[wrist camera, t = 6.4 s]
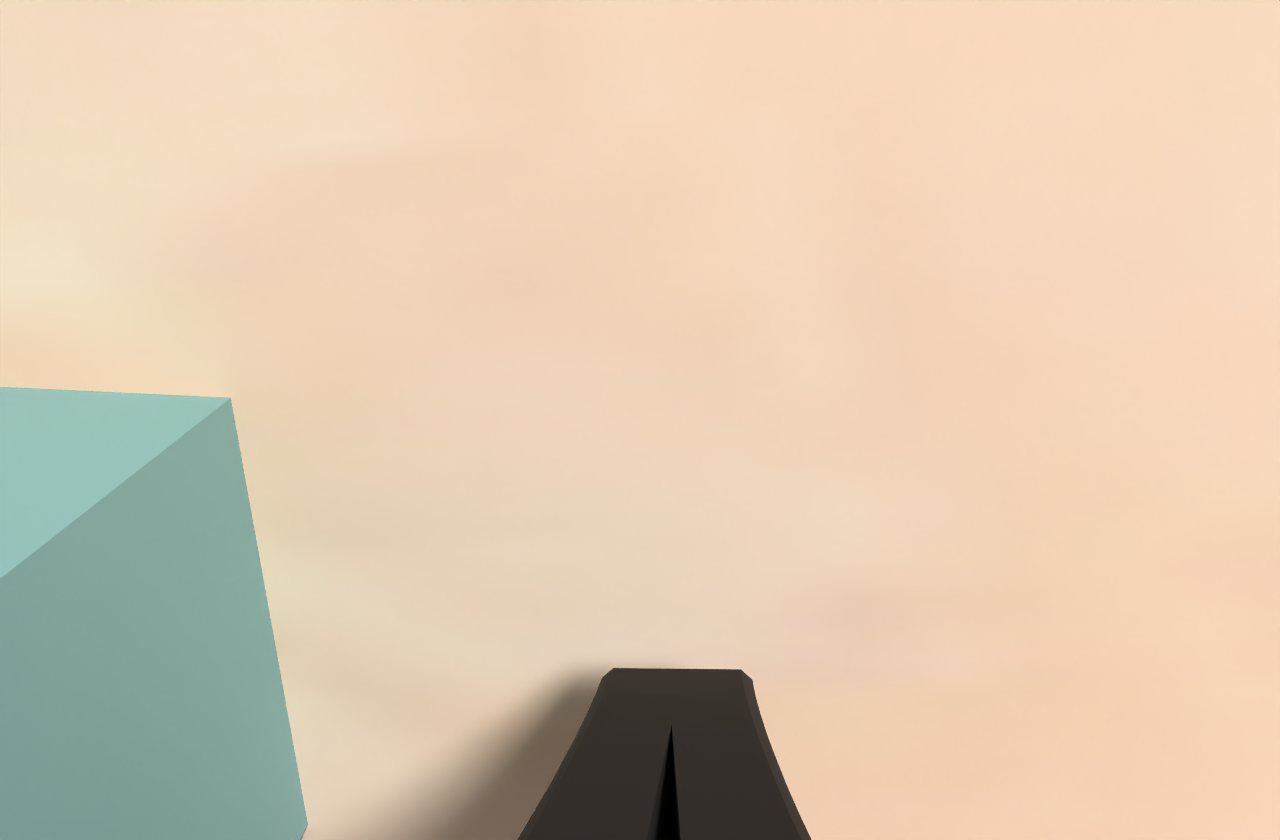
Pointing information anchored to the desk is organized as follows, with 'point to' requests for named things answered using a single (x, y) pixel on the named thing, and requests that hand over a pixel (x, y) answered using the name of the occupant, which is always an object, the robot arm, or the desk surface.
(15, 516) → the teal block
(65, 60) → the desk surface
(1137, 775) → the desk surface
